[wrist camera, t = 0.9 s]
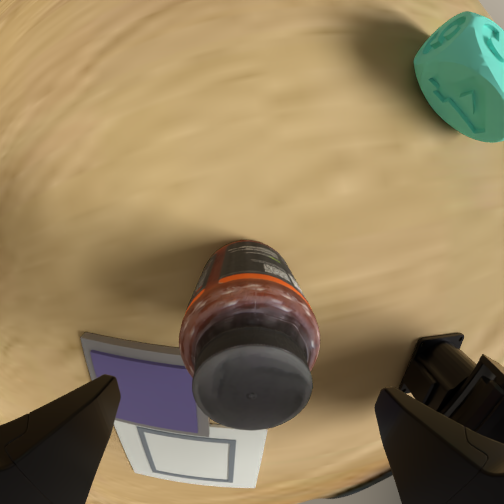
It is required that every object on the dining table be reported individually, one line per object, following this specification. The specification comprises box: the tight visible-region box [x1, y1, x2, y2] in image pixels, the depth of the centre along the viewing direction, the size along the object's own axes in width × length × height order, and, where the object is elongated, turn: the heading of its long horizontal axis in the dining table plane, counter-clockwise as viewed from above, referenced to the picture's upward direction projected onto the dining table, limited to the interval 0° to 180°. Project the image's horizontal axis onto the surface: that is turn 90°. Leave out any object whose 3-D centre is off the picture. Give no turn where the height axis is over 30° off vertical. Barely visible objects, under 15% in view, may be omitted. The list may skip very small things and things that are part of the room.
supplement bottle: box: [179, 240, 320, 431], centre depth 13 cm, size 6×6×11 cm
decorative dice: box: [414, 11, 504, 142], centre depth 12 cm, size 8×8×8 cm
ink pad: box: [80, 332, 210, 437], centre depth 20 cm, size 11×10×1 cm
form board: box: [114, 420, 268, 488], centre depth 23 cm, size 16×14×1 cm
